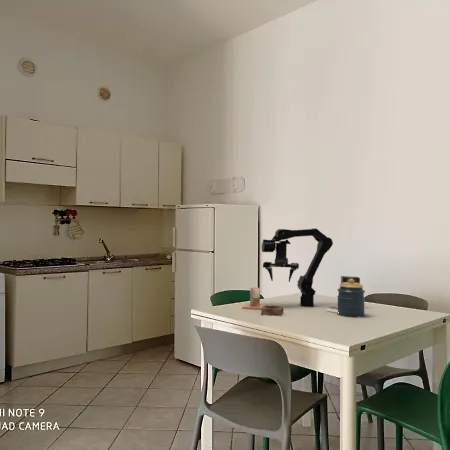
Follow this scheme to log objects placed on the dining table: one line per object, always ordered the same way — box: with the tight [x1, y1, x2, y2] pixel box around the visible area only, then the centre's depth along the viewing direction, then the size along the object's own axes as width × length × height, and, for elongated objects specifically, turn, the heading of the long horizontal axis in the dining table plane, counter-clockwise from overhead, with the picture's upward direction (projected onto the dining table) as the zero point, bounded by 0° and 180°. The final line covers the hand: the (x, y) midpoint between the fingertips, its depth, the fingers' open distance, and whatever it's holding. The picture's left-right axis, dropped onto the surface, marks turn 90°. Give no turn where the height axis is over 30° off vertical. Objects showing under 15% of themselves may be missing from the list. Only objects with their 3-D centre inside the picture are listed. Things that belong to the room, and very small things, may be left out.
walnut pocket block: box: [260, 304, 284, 317], centre depth 214 cm, size 10×10×3 cm
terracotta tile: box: [241, 302, 267, 311], centre depth 229 cm, size 11×11×1 cm
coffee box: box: [340, 275, 361, 284], centre depth 236 cm, size 9×6×16 cm
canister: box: [336, 279, 366, 318], centre depth 215 cm, size 13×13×18 cm
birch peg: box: [249, 287, 261, 307], centre depth 229 cm, size 5×5×9 cm
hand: (280, 281), depth 236 cm, fingers open, 9 cm apart
